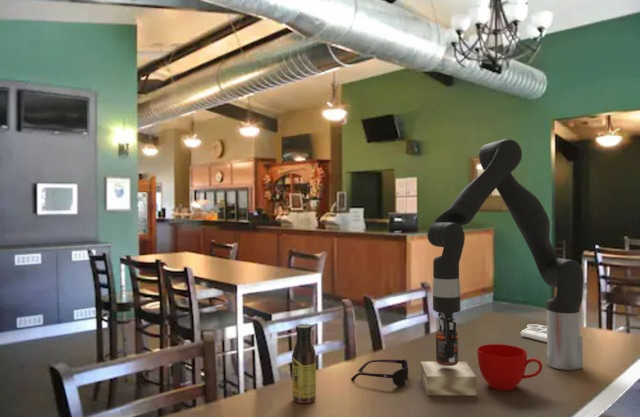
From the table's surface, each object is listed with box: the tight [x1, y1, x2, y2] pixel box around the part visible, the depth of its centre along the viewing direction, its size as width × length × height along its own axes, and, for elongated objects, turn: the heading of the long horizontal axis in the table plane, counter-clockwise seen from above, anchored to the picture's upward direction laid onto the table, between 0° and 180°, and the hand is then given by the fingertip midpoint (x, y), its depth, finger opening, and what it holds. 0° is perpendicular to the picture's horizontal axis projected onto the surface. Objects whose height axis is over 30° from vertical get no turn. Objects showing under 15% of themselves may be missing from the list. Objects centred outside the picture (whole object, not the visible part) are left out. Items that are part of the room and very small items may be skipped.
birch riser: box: [420, 361, 478, 396], centre depth 145 cm, size 13×13×5 cm
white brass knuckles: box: [520, 323, 547, 343], centre depth 195 cm, size 3×18×15 cm
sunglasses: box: [350, 359, 409, 387], centre depth 153 cm, size 14×16×5 cm
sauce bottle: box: [291, 323, 317, 404], centre depth 137 cm, size 7×6×20 cm
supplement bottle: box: [435, 322, 459, 366], centre depth 145 cm, size 6×6×11 cm
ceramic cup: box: [476, 343, 543, 391], centre depth 144 cm, size 13×17×10 cm
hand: (447, 353), depth 145 cm, fingers closed on supplement bottle, 6 cm apart
